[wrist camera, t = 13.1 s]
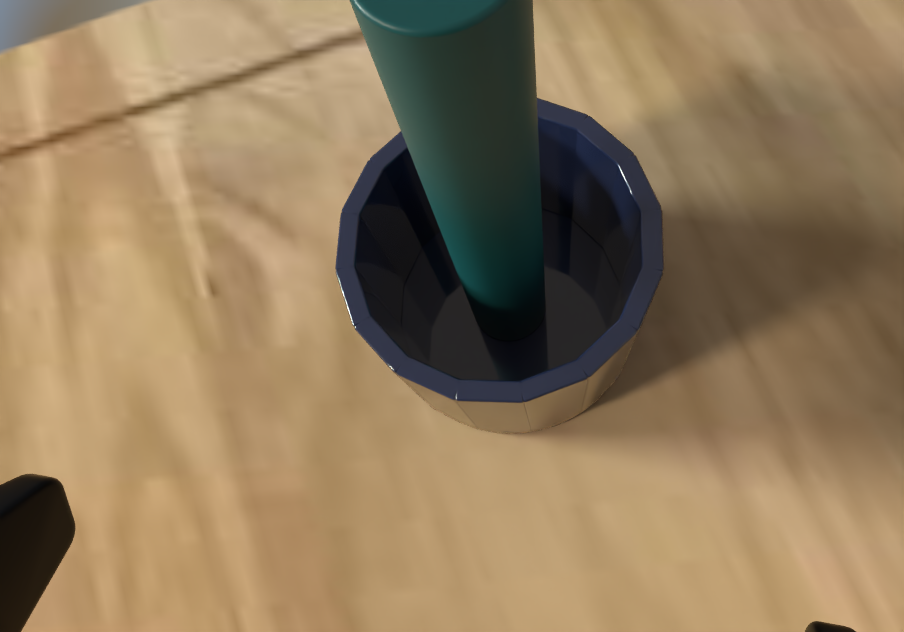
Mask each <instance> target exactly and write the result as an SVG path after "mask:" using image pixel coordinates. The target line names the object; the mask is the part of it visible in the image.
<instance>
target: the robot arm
mask: <svg viewBox="0 0 904 632" xmlns="http://www.w3.org/2000/svg"><path fill="white" fill-rule="evenodd" d="M74 534H75V521H74V518H73V515H72V512H71V509H70V506H69V503H68V500H67V497H66V494H65V491H64V488H63V485H62V484H61V482H60V481H59V480H58V479H56V478H52V477H47V476H42V475H36V474H25V475H21V476H19V477H17V478H15V479H12V480H10V481H8V482H6V483H4V484H2V485H0V632H21V631H22V629H23V627H24V625H25V624H26V622H27V620H28V618H29V617H30V615H31V613H32V611H33V610H34V608H35V606H36V604H37V603H38V601H39V599H40V598H41V596H42V594H43V592H44V591H45V589H46V587H47V585H48V584H49V582H50V580H51V578H52V577H53V575H54V573H55V571H56V570H57V568H58V566H59V564H60V563H61V561H62V559H63V557H64V556H65V554H66V552H67V550H68V549H69V547H70V545H71V543H72V541H73V538H74ZM805 632H856V631H854V630H853V629H851V628H849V627H846V626H841V625H835V624H830V623H825V622H819V621H814V622H812V623H810V624H809V625H808V627H807V628H806V630H805Z"/></svg>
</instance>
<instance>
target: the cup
mask: <svg viewBox="0 0 904 632" xmlns="http://www.w3.org/2000/svg"><path fill="white" fill-rule="evenodd" d="M537 116H538V139H539V162H540V185H541V208H542V231H543V254H544V277H545V300H546V309H545V314H544V317H543V320H542V322H541V323H540V325H539V326H538V328H537V329H536V330H535V331H534V332H532V333H531V334H530V335H528V336H526V337H524V338H522V339H518V340H513V341H504V340H499V339H496V338H493V337H491V336H489V335H488V334H486V333H485V332H484V331H483V330H482V329H481V328H480V327H479V325H478V323H477V322H476V319H475V317H474V314H473V312H472V309H471V307H470V304H469V302H468V299H467V297H466V294H465V292H464V289H463V287H462V284H461V281H460V279H459V276H458V274H457V271H456V269H455V266H454V264H453V261H452V259H451V256H450V254H449V251H448V248H447V246H446V243H445V241H444V238H443V236H442V233H441V231H440V228H439V226H438V223H437V221H436V218H435V216H434V213H433V210H432V208H431V205H430V203H429V200H428V198H427V195H426V193H425V190H424V188H423V185H422V183H421V180H420V177H419V175H418V172H417V170H416V167H415V165H414V162H413V160H412V157H411V155H410V152H409V150H408V147H407V144H406V142H405V139H404V137H403V134H402V132H400V133H398V134H397V135H396V136H395V137H394V138H393V139H392V140H390V141H389V142H388V143H387V144H386V145H385V146H384V147H382V148H381V149H380V150H379V151H378V152H377V153H376V154H374V155H373V156H372V157H371V158H370V160H369V161H368V162H367V164H366V166H365V167H364V169H363V171H362V173H361V175H360V177H359V179H358V181H357V182H356V184H355V186H354V188H353V190H352V192H351V194H350V196H349V198H348V199H347V201H346V203H345V205H344V207H343V209H342V213H341V217H340V227H339V237H338V247H337V257H336V267H335V269H336V275H337V278H338V281H339V284H340V287H341V291H342V294H343V297H344V300H345V303H346V306H347V309H348V312H349V315H350V318H351V322H352V325H353V326H354V327H355V330H356V331H357V332H358V333H359V334H360V335H361V336H362V338H363V339H364V340H365V341H366V342H367V343H368V344H369V345H370V347H371V348H372V349H373V350H374V351H375V352H376V353H377V354H378V355H379V357H380V358H381V359H382V360H383V361H384V362H385V363H386V364H387V365H388V367H389V368H390V369H391V370H392V371H393V372H394V373H395V374H396V375H397V376H398V377H399V378H400V379H402V380H403V381H404V382H405V383H406V384H407V385H408V386H409V387H410V388H411V389H412V390H413V391H415V392H416V393H417V394H418V395H419V396H420V397H421V398H422V399H423V400H424V401H425V402H426V403H427V404H429V405H430V406H431V407H432V408H434V409H435V410H437V411H439V412H441V413H443V414H444V415H446V416H448V417H450V418H452V419H454V420H455V421H457V422H459V423H462V424H464V425H467V426H470V427H472V428H476V429H480V430H484V431H488V432H495V433H505V434H511V433H527V432H533V431H539V430H543V429H546V428H550V427H553V426H556V425H558V424H561V423H563V422H565V421H567V420H569V419H572V418H573V417H575V416H576V415H578V414H580V413H581V412H583V411H584V410H586V409H587V408H588V407H589V406H591V405H592V404H593V403H594V402H595V401H597V400H598V399H599V398H600V397H601V396H602V395H603V394H604V392H605V391H606V390H607V389H608V388H609V387H610V386H611V384H612V383H613V382H614V381H615V380H616V379H617V378H618V376H619V375H620V373H621V371H622V368H623V366H624V364H625V362H626V359H627V357H628V355H629V353H630V350H631V348H632V346H633V343H634V341H635V339H636V337H637V334H638V332H639V330H640V328H641V325H642V323H643V320H644V318H645V316H646V313H647V311H648V309H649V306H650V304H651V302H652V299H653V297H654V294H655V292H656V290H657V287H658V285H659V283H660V280H661V278H662V276H663V270H664V251H663V217H662V210H661V206H660V204H659V202H658V200H657V197H656V195H655V193H654V191H653V189H652V187H651V185H650V183H649V181H648V179H647V177H646V175H645V173H644V171H643V169H642V167H641V165H640V163H639V161H638V159H637V157H636V156H635V155H634V153H633V152H632V151H631V150H629V149H628V148H627V147H626V146H625V145H624V144H622V143H621V142H620V141H619V140H618V139H616V138H615V137H614V136H613V135H612V134H611V133H609V132H608V131H607V130H606V129H605V128H603V127H602V126H601V125H600V124H599V123H597V122H596V121H595V120H594V119H593V118H592V117H590V116H588V115H587V114H584V113H581V112H578V111H575V110H572V109H569V108H566V107H563V106H560V105H557V104H554V103H551V102H548V101H545V100H542V99H539V98H537Z"/></svg>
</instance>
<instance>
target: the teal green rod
mask: <svg viewBox="0 0 904 632" xmlns="http://www.w3.org/2000/svg"><path fill="white" fill-rule="evenodd" d="M350 2H351V5H352V8H353V10H354V13H355V15H356V18H357V20H358V23H359V25H360V28H361V30H362V33H363V35H364V38H365V40H366V43H367V46H368V48H369V51H370V53H371V56H372V58H373V61H374V63H375V66H376V68H377V71H378V73H379V76H380V79H381V81H382V84H383V86H384V89H385V91H386V94H387V96H388V99H389V101H390V104H391V106H392V109H393V112H394V114H395V117H396V119H397V122H398V124H399V127H400V129H401V132H402V134H403V137H404V139H405V142H406V144H407V147H408V150H409V152H410V155H411V157H412V160H413V162H414V165H415V167H416V170H417V172H418V175H419V177H420V180H421V183H422V185H423V188H424V190H425V193H426V195H427V198H428V200H429V203H430V205H431V208H432V210H433V213H434V216H435V218H436V221H437V223H438V226H439V228H440V231H441V233H442V236H443V238H444V241H445V243H446V246H447V248H448V251H449V254H450V256H451V259H452V261H453V264H454V266H455V269H456V271H457V274H458V276H459V279H460V281H461V284H462V287H463V289H464V292H465V294H466V297H467V299H468V302H469V304H470V307H471V309H472V312H473V314H474V317H475V319H476V322H477V323H478V325H479V327H480V328H481V329H482V330H483V331H484V332H485V333H486V334H488V335H489V336H491V337H493V338H496V339H499V340H504V341H513V340H518V339H522V338H524V337H526V336H528V335H530V334H531V333H532V332H534V331H535V330H536V329H537V328H538V326H539V325H540V323H541V322H542V320H543V317H544V314H545V309H546V300H545V277H544V254H543V231H542V208H541V185H540V162H539V139H538V116H537V93H536V70H535V47H534V24H533V0H350Z"/></svg>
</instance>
